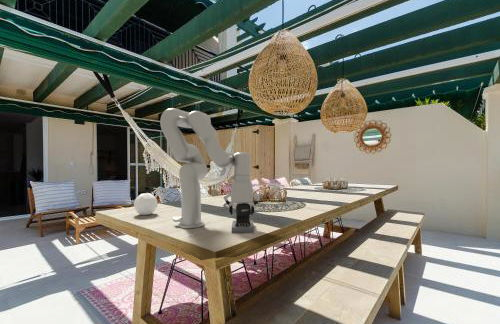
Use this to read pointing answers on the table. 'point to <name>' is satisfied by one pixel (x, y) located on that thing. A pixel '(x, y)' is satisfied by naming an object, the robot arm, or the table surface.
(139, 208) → the geodesic sphere
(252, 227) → the dock
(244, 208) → the battery
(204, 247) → the table surface
